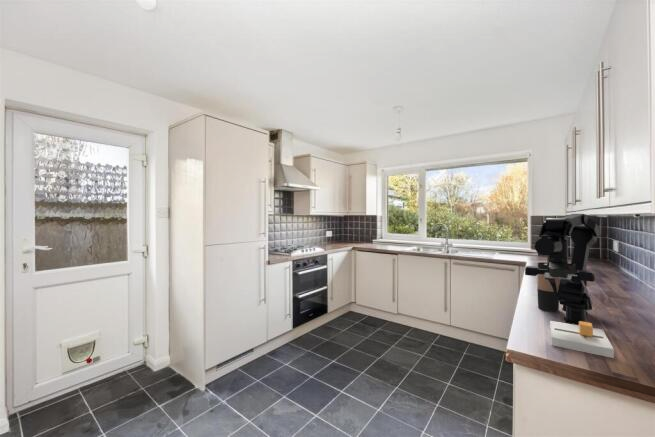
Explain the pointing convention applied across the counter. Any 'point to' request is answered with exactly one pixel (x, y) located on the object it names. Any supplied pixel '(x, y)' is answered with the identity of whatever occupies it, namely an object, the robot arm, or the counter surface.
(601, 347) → the fader console
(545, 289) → the travel mug
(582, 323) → the fader knob
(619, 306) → the counter surface
